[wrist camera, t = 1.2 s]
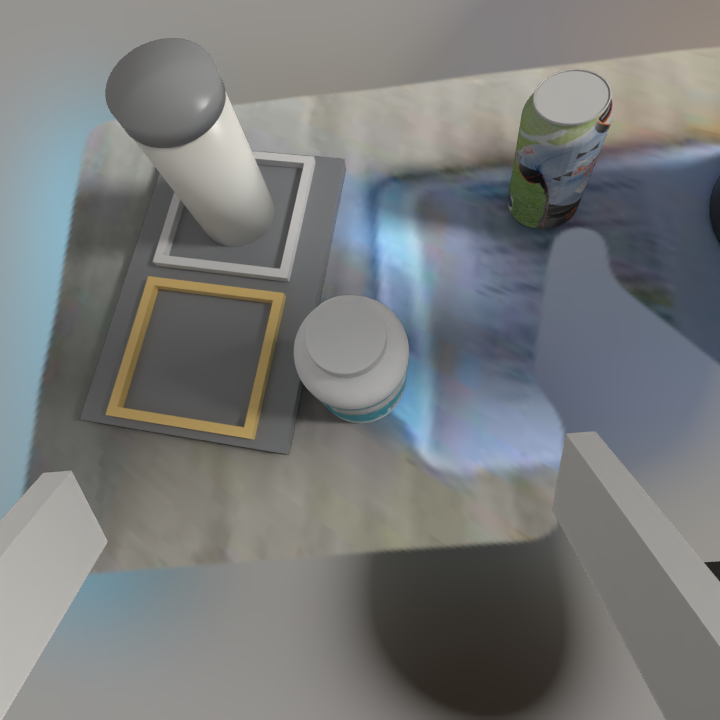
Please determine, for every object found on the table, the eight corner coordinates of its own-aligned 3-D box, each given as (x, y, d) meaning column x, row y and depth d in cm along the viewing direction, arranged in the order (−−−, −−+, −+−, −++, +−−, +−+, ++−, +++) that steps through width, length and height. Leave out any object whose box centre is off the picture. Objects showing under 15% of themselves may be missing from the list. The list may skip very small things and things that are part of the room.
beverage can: (563, 243, 39) (635, 146, 27) (483, 223, 40) (520, 121, 28) (578, 186, 40) (653, 70, 29) (501, 167, 41) (543, 49, 30)
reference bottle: (282, 184, 41) (228, 41, 28) (266, 251, 39) (200, 134, 26) (211, 177, 42) (124, 35, 28) (192, 243, 40) (90, 125, 27)
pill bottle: (318, 342, 38) (280, 274, 25) (402, 338, 38) (407, 266, 25) (319, 427, 36) (278, 400, 23) (407, 423, 36) (415, 394, 23)
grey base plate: (345, 169, 43) (343, 152, 40) (289, 454, 36) (282, 453, 34) (175, 154, 45) (164, 137, 42) (91, 421, 38) (72, 418, 36)
